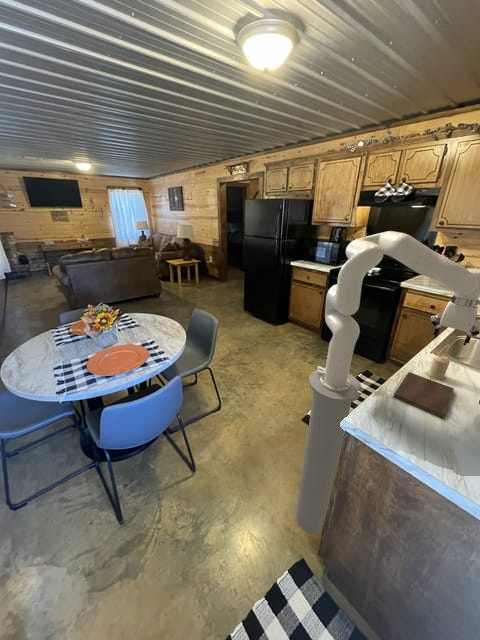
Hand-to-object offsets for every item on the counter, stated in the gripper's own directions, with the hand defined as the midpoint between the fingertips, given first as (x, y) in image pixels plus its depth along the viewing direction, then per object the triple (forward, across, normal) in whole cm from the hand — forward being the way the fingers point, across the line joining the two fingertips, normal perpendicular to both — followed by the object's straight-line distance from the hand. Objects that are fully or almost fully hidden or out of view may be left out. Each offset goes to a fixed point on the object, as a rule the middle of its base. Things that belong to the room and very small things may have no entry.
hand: (449, 340), depth 108 cm
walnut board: (+18, +1, +18) cm, 26 cm away
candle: (+18, 0, 0) cm, 18 cm away
